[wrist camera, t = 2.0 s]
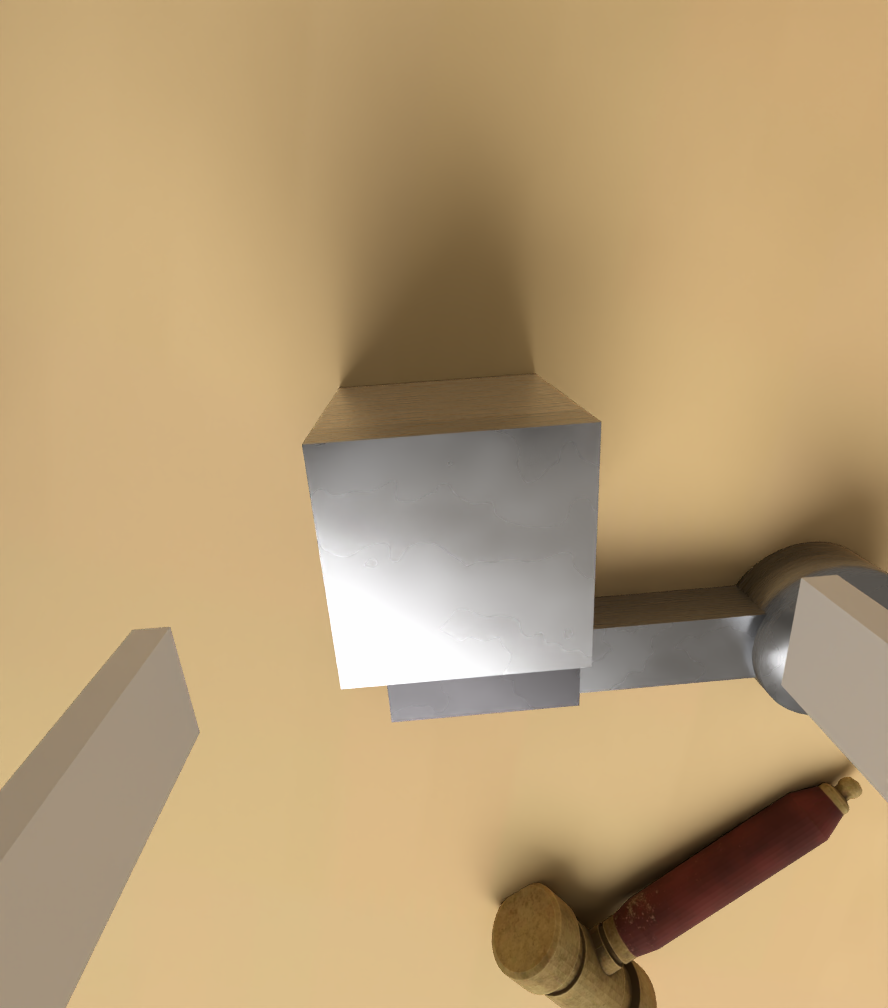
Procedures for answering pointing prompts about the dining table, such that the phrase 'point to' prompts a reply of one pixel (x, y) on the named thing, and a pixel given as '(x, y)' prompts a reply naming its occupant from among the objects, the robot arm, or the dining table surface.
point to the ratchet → (664, 641)
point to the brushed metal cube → (456, 528)
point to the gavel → (655, 906)
